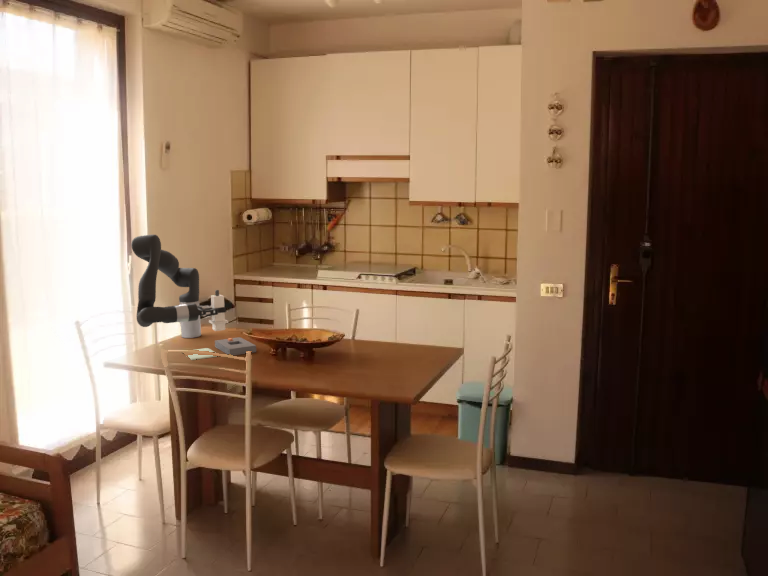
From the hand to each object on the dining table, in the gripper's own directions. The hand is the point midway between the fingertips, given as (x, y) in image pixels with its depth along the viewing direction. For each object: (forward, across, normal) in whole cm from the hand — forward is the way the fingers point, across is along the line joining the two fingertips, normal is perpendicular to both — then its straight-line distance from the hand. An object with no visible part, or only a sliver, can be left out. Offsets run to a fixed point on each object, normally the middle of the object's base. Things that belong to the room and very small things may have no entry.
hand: (223, 308), depth 341 cm
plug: (-3, 0, +9) cm, 9 cm away
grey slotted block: (+4, 0, +19) cm, 19 cm away
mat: (-12, 0, +19) cm, 22 cm away
